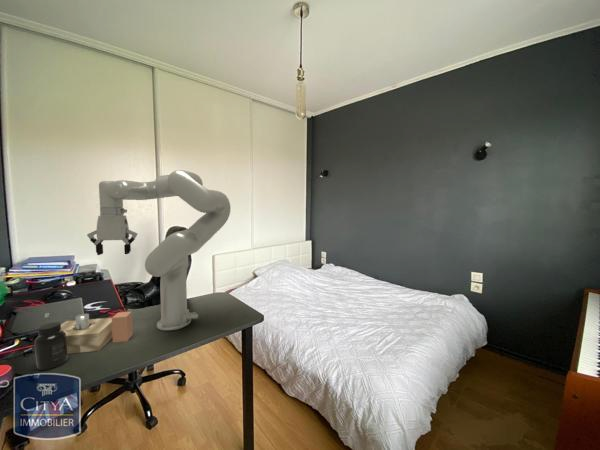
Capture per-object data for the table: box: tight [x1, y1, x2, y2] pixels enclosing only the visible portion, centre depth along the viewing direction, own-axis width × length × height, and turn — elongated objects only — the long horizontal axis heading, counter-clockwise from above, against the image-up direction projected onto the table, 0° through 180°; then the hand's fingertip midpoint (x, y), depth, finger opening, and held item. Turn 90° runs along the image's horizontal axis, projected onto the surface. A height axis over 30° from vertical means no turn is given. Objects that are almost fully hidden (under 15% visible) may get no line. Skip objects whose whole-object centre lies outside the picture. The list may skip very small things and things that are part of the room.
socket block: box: [60, 317, 113, 355], centre depth 88 cm, size 16×12×6 cm
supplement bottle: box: [33, 322, 69, 371], centre depth 76 cm, size 7×7×12 cm
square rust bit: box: [111, 311, 134, 344], centre depth 91 cm, size 4×4×9 cm
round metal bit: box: [75, 313, 90, 330], centre depth 87 cm, size 4×4×10 cm
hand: (113, 254), depth 103 cm, fingers open, 9 cm apart
